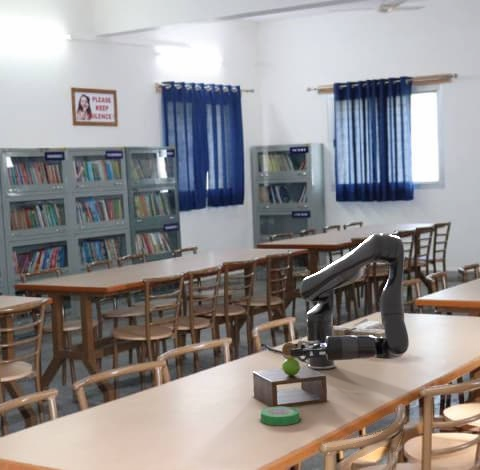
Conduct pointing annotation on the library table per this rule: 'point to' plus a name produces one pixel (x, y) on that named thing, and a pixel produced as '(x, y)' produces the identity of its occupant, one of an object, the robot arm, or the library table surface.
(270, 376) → the shelf
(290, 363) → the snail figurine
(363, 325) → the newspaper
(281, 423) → the tape roll
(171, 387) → the library table surface
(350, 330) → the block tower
